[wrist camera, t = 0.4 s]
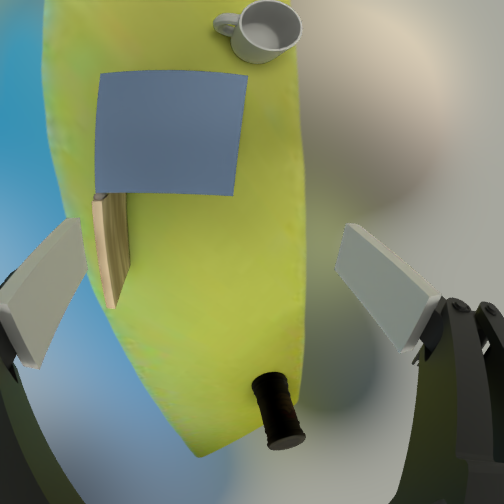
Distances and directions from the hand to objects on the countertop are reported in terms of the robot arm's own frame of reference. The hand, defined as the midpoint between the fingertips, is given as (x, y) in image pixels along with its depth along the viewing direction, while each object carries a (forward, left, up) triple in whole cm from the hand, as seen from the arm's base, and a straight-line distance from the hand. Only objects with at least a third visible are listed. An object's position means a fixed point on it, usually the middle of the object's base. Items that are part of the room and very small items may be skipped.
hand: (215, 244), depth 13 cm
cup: (-18, +4, -28) cm, 34 cm away
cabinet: (-4, -4, -28) cm, 28 cm away
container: (+51, +18, -28) cm, 61 cm away
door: (+10, -11, -27) cm, 31 cm away
